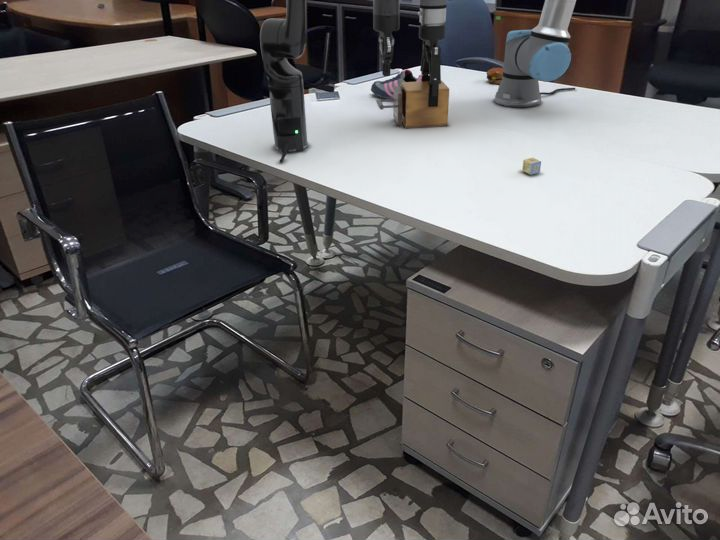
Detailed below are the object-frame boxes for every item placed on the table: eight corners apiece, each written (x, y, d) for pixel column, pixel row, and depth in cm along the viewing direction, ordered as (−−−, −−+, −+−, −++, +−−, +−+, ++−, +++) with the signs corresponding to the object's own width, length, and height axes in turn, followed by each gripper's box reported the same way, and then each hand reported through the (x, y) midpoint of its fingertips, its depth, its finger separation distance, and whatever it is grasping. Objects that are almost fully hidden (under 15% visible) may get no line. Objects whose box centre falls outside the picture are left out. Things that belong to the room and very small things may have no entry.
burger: (509, 78, 224) (510, 66, 222) (513, 84, 216) (515, 71, 214) (483, 78, 224) (484, 66, 222) (487, 84, 216) (488, 72, 214)
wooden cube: (405, 128, 173) (406, 90, 167) (400, 118, 182) (400, 82, 176) (447, 125, 174) (449, 88, 168) (439, 116, 183) (441, 80, 177)
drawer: (379, 126, 172) (379, 94, 167) (376, 117, 180) (375, 87, 175) (435, 123, 173) (437, 91, 169) (429, 114, 181) (430, 84, 177)
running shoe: (382, 90, 212) (382, 60, 206) (438, 103, 195) (439, 70, 190) (365, 95, 206) (364, 64, 201) (420, 108, 190) (421, 75, 184)
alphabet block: (529, 175, 138) (531, 163, 136) (521, 170, 140) (523, 159, 139) (540, 173, 139) (541, 161, 137) (531, 168, 141) (533, 157, 140)
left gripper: (370, 9, 166) (371, 71, 175) (376, 15, 155) (376, 81, 164) (395, 8, 166) (395, 70, 175) (403, 14, 155) (402, 80, 164)
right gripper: (412, 19, 173) (410, 92, 184) (427, 30, 153) (424, 112, 164) (436, 18, 173) (433, 91, 185) (454, 29, 154) (449, 111, 165)
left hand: (386, 75), depth 169 cm, fingers closed
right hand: (429, 101), depth 175 cm, fingers closed on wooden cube, 11 cm apart
